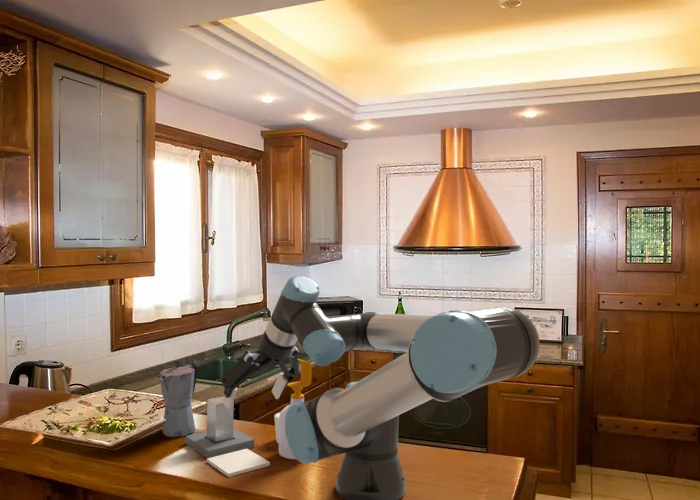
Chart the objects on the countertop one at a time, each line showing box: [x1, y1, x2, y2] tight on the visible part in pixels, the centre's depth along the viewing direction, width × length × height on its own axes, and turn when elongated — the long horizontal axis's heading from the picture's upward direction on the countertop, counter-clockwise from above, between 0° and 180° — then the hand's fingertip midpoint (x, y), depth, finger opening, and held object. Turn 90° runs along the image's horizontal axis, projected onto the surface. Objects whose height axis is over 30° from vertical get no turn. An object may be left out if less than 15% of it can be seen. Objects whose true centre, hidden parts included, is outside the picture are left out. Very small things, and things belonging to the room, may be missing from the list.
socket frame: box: [185, 427, 255, 460], centre depth 148 cm, size 13×13×2 cm
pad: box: [206, 448, 271, 478], centre depth 136 cm, size 11×11×1 cm
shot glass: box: [273, 411, 281, 444], centre depth 152 cm, size 7×7×7 cm
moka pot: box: [158, 360, 199, 438], centre depth 157 cm, size 10×15×20 cm, turn 163°
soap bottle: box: [278, 358, 313, 460], centre depth 143 cm, size 9×9×25 cm
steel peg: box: [206, 396, 235, 444], centre depth 148 cm, size 5×5×12 cm
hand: (251, 399), depth 137 cm, fingers open, 13 cm apart
